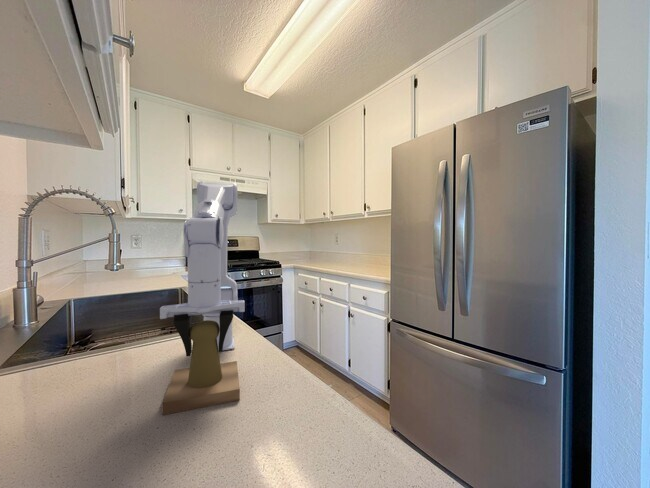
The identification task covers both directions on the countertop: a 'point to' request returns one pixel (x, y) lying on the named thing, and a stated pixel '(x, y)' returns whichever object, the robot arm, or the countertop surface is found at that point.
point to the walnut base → (201, 390)
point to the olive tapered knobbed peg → (204, 355)
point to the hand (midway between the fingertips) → (204, 352)
